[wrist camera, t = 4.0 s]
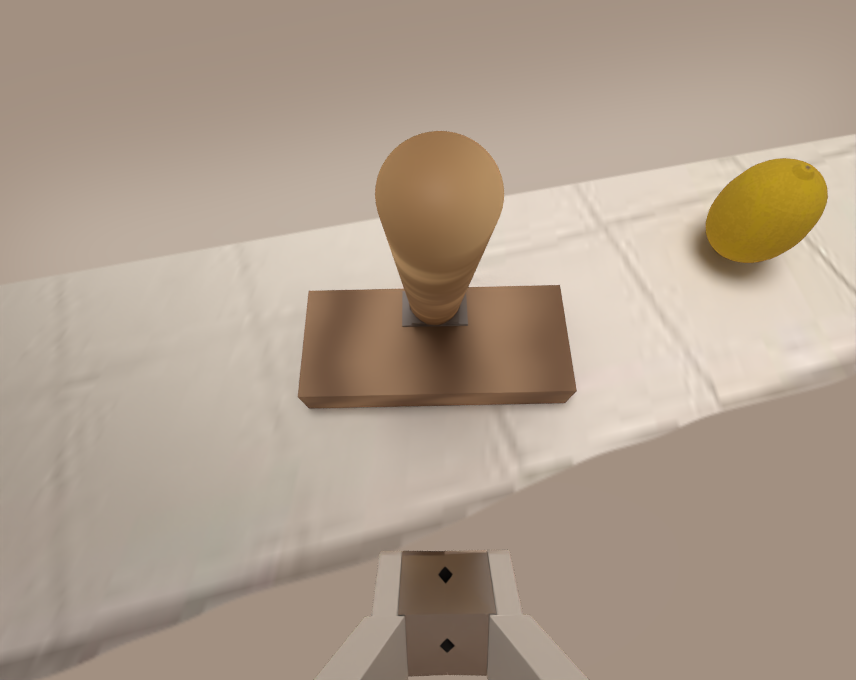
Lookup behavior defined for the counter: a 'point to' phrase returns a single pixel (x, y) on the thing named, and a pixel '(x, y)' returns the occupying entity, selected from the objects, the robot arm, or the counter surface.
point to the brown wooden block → (436, 350)
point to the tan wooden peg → (438, 218)
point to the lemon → (766, 210)
